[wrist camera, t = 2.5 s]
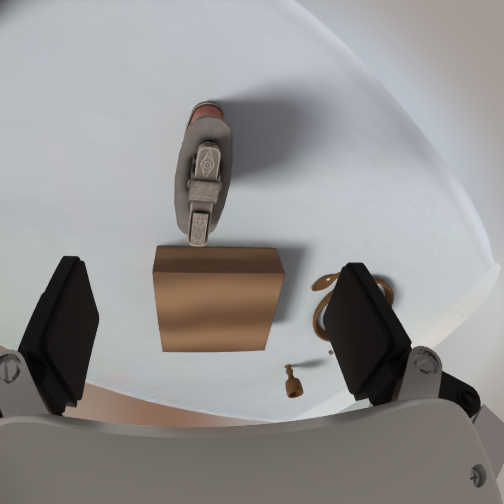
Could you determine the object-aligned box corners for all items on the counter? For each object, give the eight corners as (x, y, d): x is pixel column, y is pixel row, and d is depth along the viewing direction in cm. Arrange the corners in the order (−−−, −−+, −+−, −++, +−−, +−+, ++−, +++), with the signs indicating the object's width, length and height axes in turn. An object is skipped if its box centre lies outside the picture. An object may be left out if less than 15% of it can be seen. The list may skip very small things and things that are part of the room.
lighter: (188, 99, 21) (179, 122, 13) (230, 104, 22) (248, 131, 14) (177, 189, 26) (167, 258, 18) (215, 192, 26) (222, 262, 18)
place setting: (393, 319, 44) (409, 346, 39) (283, 371, 47) (291, 401, 42) (378, 243, 34) (402, 274, 29) (231, 315, 37) (236, 353, 32)
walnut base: (156, 246, 29) (152, 272, 25) (275, 248, 31) (284, 273, 28) (164, 325, 35) (162, 351, 32) (258, 325, 38) (264, 350, 35)
